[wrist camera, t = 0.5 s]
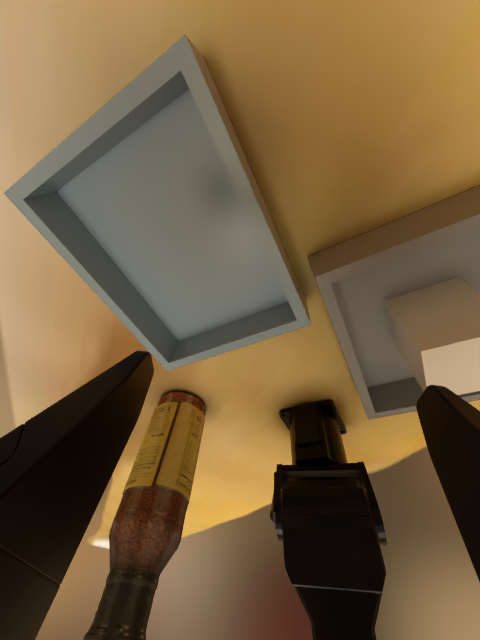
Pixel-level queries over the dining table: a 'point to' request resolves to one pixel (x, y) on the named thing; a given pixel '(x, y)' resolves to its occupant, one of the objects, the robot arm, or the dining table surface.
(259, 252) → the bin
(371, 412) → the bin
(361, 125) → the dining table surface
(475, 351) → the stone block
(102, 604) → the sauce bottle
